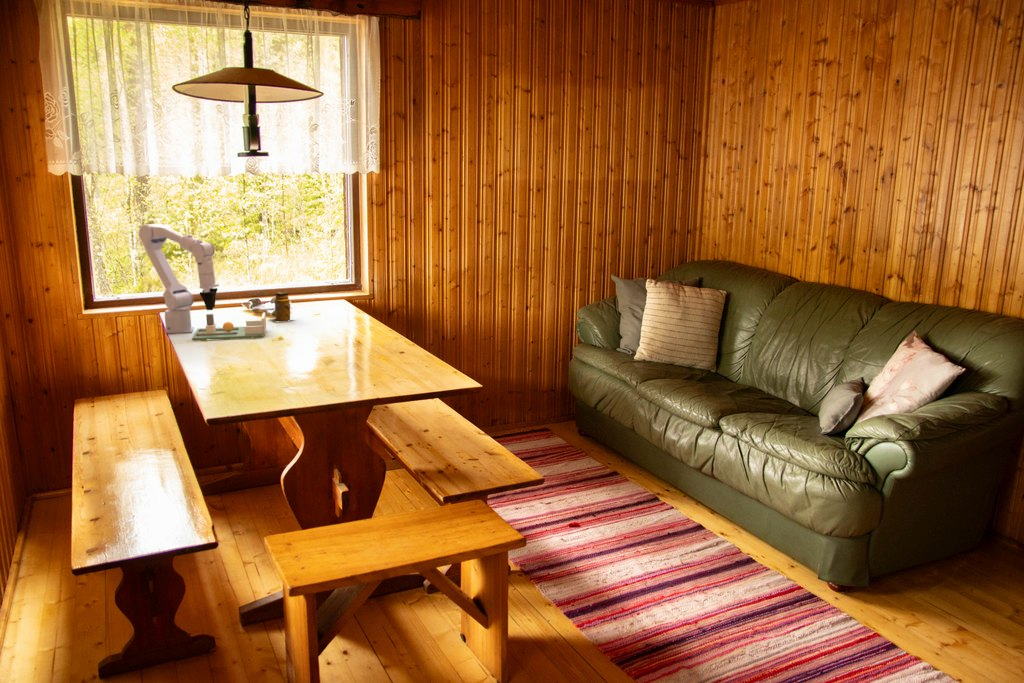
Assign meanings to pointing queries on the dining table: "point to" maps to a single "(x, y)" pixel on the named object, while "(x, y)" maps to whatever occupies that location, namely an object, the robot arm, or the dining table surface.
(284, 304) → the condiment
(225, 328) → the ball
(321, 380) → the dining table surface
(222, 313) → the dining table surface
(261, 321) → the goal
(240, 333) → the pitch
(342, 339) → the dining table surface
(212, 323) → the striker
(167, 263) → the robot arm
